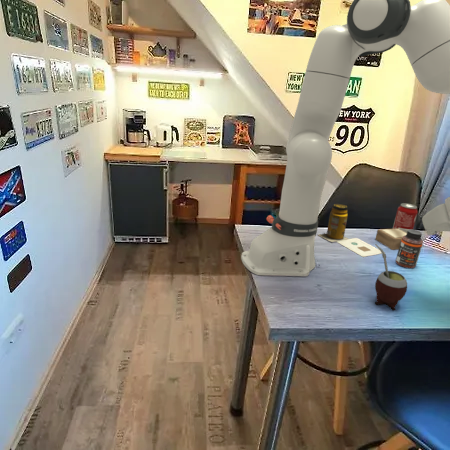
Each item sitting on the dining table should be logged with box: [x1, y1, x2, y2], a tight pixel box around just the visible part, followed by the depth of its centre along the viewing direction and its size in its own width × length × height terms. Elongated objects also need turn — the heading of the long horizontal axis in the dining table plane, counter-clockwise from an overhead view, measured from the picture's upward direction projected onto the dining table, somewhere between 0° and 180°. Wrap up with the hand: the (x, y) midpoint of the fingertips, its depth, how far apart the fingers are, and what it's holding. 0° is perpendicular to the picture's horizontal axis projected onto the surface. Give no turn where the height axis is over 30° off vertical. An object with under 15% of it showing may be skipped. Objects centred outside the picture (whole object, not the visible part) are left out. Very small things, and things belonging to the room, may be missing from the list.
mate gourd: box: [374, 243, 408, 312], centre depth 86 cm, size 8×8×15 cm
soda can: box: [392, 202, 418, 233], centre depth 133 cm, size 7×7×12 cm
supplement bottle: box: [395, 228, 424, 269], centre depth 109 cm, size 6×6×11 cm
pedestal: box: [374, 228, 407, 251], centre depth 125 cm, size 9×9×4 cm
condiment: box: [318, 203, 350, 243], centre depth 126 cm, size 7×8×12 cm
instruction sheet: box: [335, 237, 386, 258], centre depth 121 cm, size 10×13×1 cm
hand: (445, 232), depth 94 cm, fingers open, 8 cm apart
